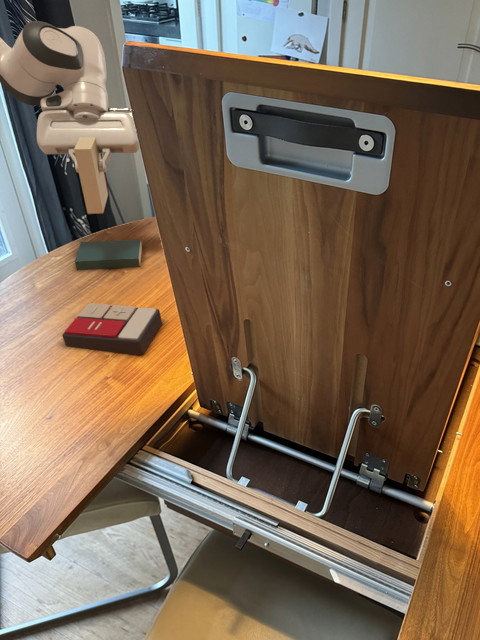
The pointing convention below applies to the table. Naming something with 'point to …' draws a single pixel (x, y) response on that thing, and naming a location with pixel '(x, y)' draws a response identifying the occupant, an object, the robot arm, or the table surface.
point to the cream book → (91, 175)
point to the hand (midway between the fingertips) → (91, 171)
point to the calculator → (113, 328)
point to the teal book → (109, 254)
